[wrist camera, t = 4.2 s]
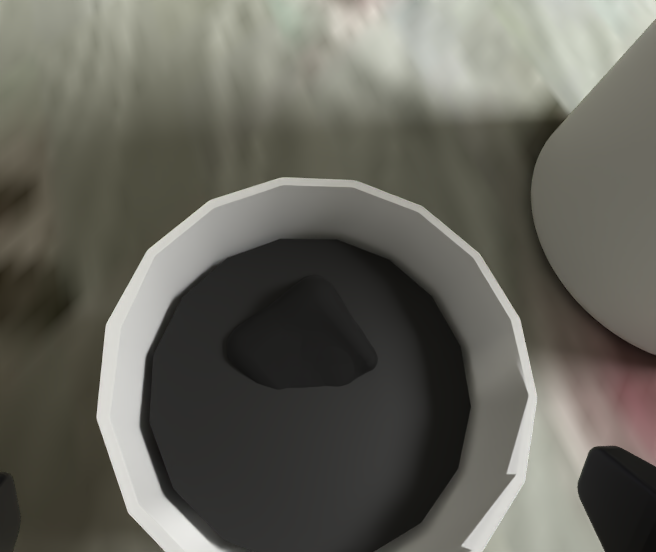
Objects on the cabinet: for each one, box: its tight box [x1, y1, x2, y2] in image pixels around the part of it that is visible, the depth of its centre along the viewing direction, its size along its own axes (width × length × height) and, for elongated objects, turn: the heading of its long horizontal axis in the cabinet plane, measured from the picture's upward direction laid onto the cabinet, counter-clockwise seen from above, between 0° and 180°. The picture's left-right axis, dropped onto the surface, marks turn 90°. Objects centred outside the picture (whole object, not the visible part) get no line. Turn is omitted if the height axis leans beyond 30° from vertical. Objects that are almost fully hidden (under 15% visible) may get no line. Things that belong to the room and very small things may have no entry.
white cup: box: [96, 177, 537, 552], centre depth 12 cm, size 7×7×10 cm
